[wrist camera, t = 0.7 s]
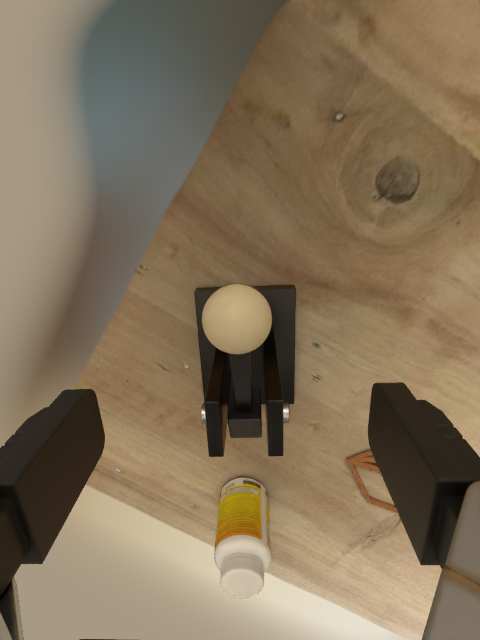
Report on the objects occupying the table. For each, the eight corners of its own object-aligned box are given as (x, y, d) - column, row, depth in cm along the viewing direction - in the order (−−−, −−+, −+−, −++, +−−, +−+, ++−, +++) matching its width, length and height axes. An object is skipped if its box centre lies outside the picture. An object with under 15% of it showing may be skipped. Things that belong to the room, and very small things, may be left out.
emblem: (468, 453, 39) (472, 457, 38) (422, 518, 43) (425, 523, 42) (365, 422, 38) (367, 426, 37) (327, 491, 42) (328, 496, 41)
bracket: (196, 287, 34) (165, 348, 22) (294, 284, 33) (318, 344, 21) (206, 398, 38) (184, 500, 26) (292, 397, 37) (311, 499, 26)
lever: (200, 270, 18) (193, 324, 15) (270, 268, 17) (274, 322, 15) (223, 401, 27) (221, 445, 25) (268, 400, 27) (270, 444, 25)
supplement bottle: (211, 487, 42) (199, 577, 33) (251, 467, 41) (250, 555, 31) (237, 517, 44) (233, 611, 34) (277, 499, 43) (284, 591, 33)
